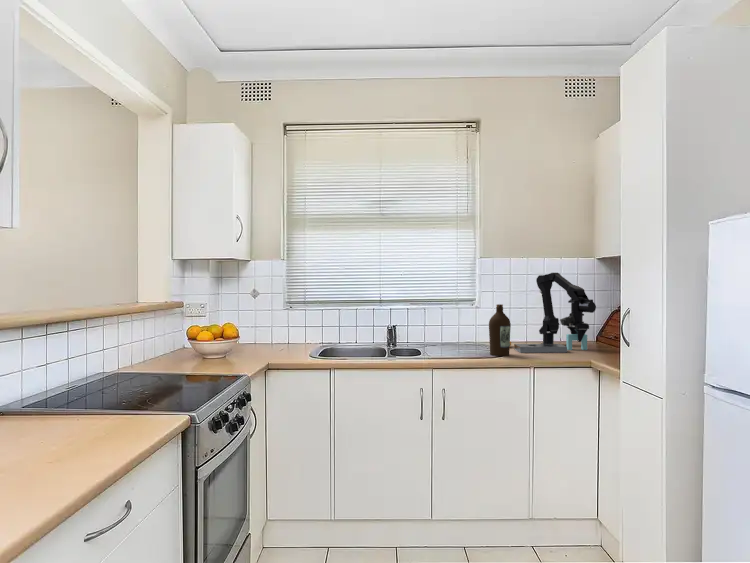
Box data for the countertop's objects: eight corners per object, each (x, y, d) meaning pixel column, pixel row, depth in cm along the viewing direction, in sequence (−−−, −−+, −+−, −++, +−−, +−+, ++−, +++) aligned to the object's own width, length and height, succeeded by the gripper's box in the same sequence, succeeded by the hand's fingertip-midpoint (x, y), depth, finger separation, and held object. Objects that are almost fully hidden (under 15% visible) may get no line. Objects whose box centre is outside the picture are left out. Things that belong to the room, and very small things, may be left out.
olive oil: (484, 354, 283) (484, 304, 283) (499, 352, 289) (499, 303, 288) (499, 356, 274) (499, 305, 274) (515, 355, 280) (515, 304, 280)
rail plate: (514, 349, 300) (514, 343, 300) (559, 349, 300) (559, 343, 300) (520, 352, 288) (520, 346, 288) (567, 352, 288) (567, 346, 288)
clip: (566, 349, 301) (566, 334, 300) (585, 349, 301) (585, 334, 301) (568, 350, 298) (568, 334, 297) (587, 349, 298) (587, 334, 298)
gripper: (555, 310, 308) (555, 339, 308) (568, 312, 289) (567, 343, 290) (576, 310, 308) (576, 338, 309) (589, 312, 290) (589, 343, 290)
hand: (576, 341), depth 299 cm, fingers open, 8 cm apart
